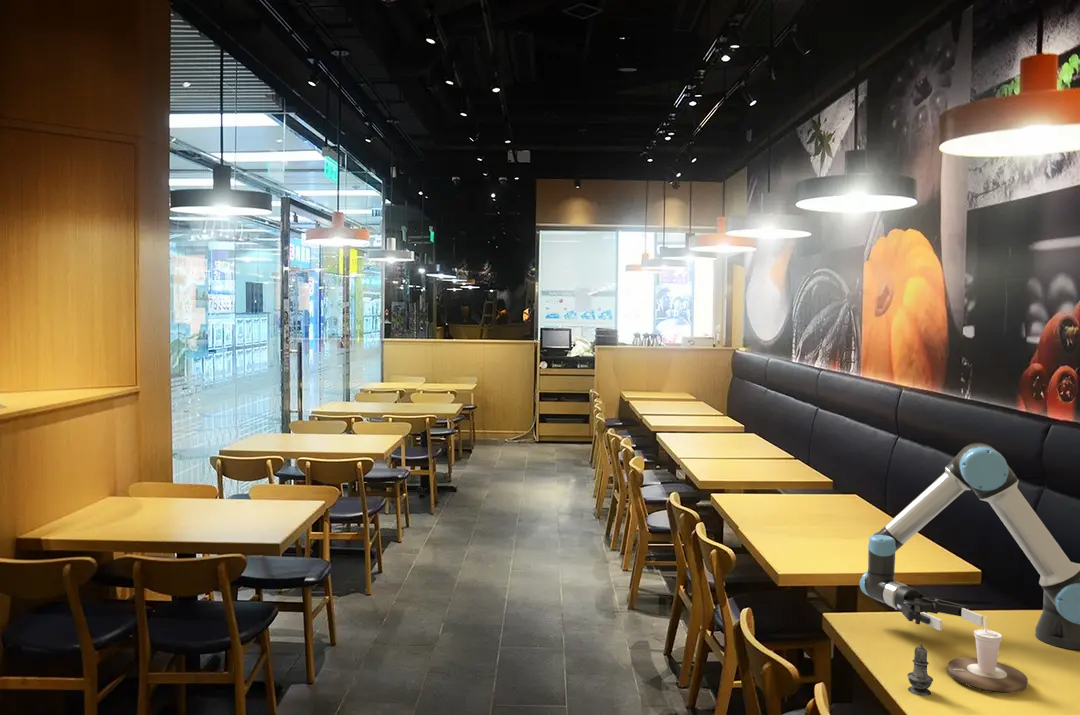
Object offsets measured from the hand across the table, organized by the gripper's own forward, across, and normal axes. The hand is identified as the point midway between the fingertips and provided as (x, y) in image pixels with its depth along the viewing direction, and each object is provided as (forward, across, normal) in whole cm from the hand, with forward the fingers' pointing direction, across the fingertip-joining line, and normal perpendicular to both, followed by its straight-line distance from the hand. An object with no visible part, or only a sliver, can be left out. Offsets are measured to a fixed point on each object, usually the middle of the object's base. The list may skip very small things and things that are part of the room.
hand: (961, 623), depth 214 cm
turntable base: (+9, 0, -12) cm, 15 cm away
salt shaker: (+9, +22, -12) cm, 26 cm away
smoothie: (+9, 0, -10) cm, 13 cm away
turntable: (+9, 0, -11) cm, 14 cm away
